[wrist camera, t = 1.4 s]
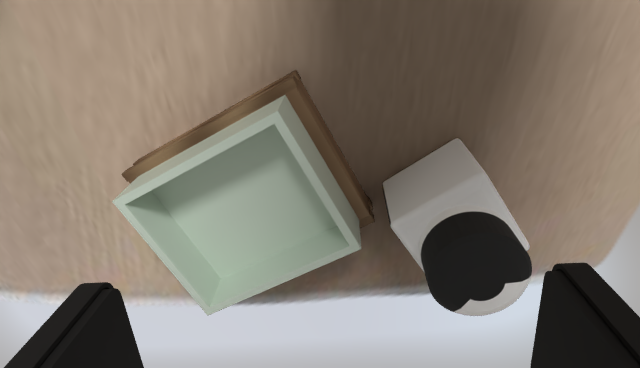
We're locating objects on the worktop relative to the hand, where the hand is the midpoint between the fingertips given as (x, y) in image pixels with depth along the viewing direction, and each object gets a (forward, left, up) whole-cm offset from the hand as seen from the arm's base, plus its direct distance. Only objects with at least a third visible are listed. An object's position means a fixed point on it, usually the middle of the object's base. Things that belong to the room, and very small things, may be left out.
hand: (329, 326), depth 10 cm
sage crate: (+10, +4, -22) cm, 24 cm away
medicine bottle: (-3, +12, -25) cm, 28 cm away
